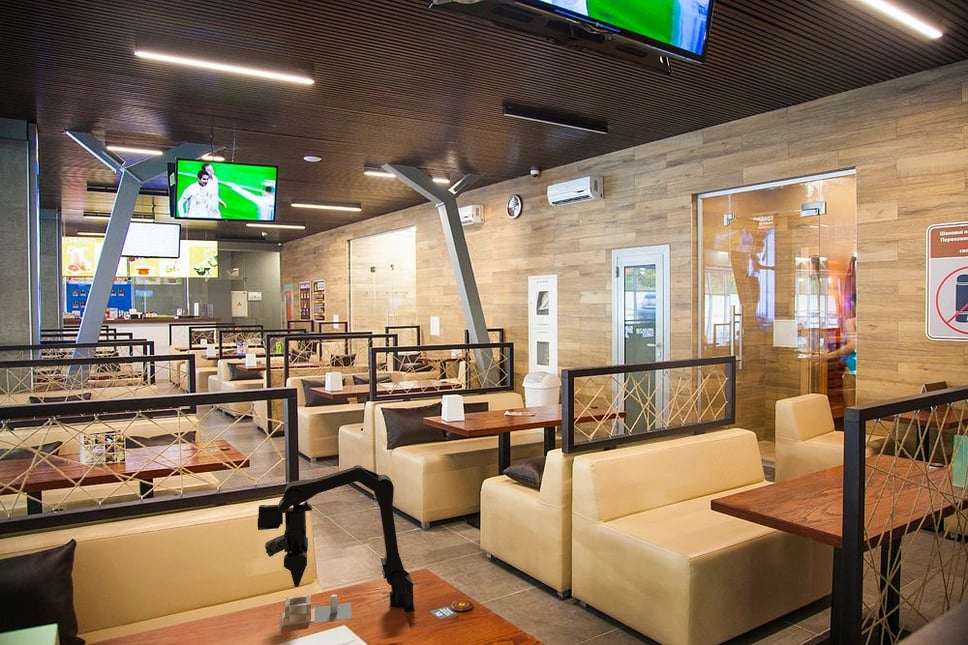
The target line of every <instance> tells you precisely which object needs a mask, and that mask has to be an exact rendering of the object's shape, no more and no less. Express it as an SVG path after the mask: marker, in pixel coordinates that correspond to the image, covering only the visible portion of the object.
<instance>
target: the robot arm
mask: <svg viewBox="0 0 968 645" xmlns="http://www.w3.org/2000/svg"><path fill="white" fill-rule="evenodd" d="M356 482H358V483H359V484H361V485H362V486H364V487H366V488H367V489H369V490H370V491H372V492H374V495H375V498H376V501H377V504H378V507H379V513H380V521H381V528H382V534H383V536H382V537H383V542H384V550H385V556H384V557H383V558H380V562H381V566H382V568H381V572H382V576H383V579H384V580H385V579H386V583H387V584H388V585H390V589H391V590H390V591H389V593H388V594H389V597H388V598H389V606H390V608H398V609H403V611H404V612H409V611H415V610H416V608H415V605H414V582H413V580H412V577H411V575H410V573H409V572H408V571H407V570H406V569H405V567H404V565H403V562H402V558H401V556H400V552H399V547H398V546H399V545H398V539H397V533H396V532H397V531H396V524H395V516H394V510H393V504H394V497H395V496H394V494H395V493H394V492H395V488H394V484H393V481H392V480H391V478H390V477H389V476H388V475H386V474H378V473H376V472H374V471H372V470H369V469H367V468H365V467H363V466H361V465H354V466H352V467H349V468H346V469H343V470H341V471H338V472H333V473H330V474H327V475H324V476H322V477H317V478H313V479H300V480H293V481H290V482H289V483H288V484H287V485H286V487H285V488H284V489H285V490H284V494H283V497H282V498H281V499H280V500H279V502H278V504H260V505H259V506H258V514H257V515H258V516H257V531H264V530H265V531H266V530H267V531H268V530H276V529H280V527H281V526H282V525H283V524H285V529H284V534H282V535H280V536H277V537H274V538H273V539H270V540H268V541H266V542H265V545H264V548H265V554H267V556H268V557H269V558H270V557H273V556H275V555H276V554H278V553H281V552H282V551H284V553H285V555H284V556H283V568H285V569H286V570H288V571H290V575H291V578H292V582H293V585H294V587H295V588H298V587H299V586H300V584H301V582H302V581H301V580H302V578H303V576H304V573H305V570H306V567H307V566H308V554H307V553H308V550H309V537H307V522H306V521H307V517H306V516H307V515H306V514H307V513H306V512H311V511H312V510H313V504H310V503H309V502H308V500H310V499H311V498H313V497H314V496H317V495H319V494H321V493H324V492H328V491H331V490H333V489H337V488H339V487H343V486H345V485H348V484H349V485H350V484H352V483H356ZM284 519H285V520H284ZM284 522H285V523H284Z"/></svg>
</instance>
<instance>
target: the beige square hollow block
mask: <svg viewBox="0 0 968 645" xmlns="http://www.w3.org/2000/svg"><path fill="white" fill-rule="evenodd" d="M311 596H312V594H304V595H303V594H302V595H298V596H297V595H296V596H290V597H289V596H287V597H285V603H284V604H285V605H284V611H285V623H293V622H300V621H308V620H311V608H312V597H311Z"/></svg>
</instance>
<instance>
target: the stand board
mask: <svg viewBox="0 0 968 645" xmlns="http://www.w3.org/2000/svg"><path fill="white" fill-rule="evenodd" d="M329 600H330V603H329V605H322V606H321V605H320V606H313V607H311V620H308V621H300V622H293V623H285V610H284V611H283V610H282V611H281V613H280V614H281V615H280V619H279V620H280V622H279V629H282V628H283V629H285V628H292V627H299V626H306V625H313V624H321V623H322V624H323V623H329V622H336V621H342V620H343V621H344V620H345V621H346V620H350V619H353V612H352V603H351V602H346V603H338V595H337V594H331V595H330V596H329Z"/></svg>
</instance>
